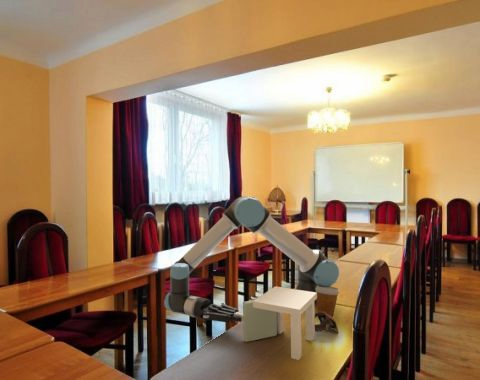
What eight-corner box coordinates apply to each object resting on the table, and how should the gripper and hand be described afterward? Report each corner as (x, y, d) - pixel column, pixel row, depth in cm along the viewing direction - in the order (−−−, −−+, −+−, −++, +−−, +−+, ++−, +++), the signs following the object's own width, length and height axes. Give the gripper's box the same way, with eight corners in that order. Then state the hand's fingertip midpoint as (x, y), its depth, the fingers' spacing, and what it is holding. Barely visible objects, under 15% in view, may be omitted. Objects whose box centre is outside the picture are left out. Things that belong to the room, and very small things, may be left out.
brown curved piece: (343, 339, 114) (333, 321, 113) (318, 349, 116) (308, 331, 114) (335, 317, 126) (326, 300, 124) (312, 326, 128) (303, 310, 126)
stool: (275, 328, 122) (275, 286, 122) (317, 337, 114) (316, 292, 114) (253, 349, 107) (253, 301, 107) (300, 362, 99) (299, 309, 99)
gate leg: (276, 332, 118) (275, 296, 118) (279, 334, 116) (278, 298, 116) (243, 339, 113) (243, 301, 113) (245, 342, 111) (245, 303, 111)
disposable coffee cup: (319, 313, 139) (321, 284, 140) (340, 318, 133) (342, 288, 134) (308, 316, 131) (311, 285, 133) (331, 322, 125) (333, 290, 127)
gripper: (208, 311, 133) (259, 323, 121) (187, 323, 122) (241, 337, 109) (208, 293, 133) (259, 303, 121) (187, 303, 122) (241, 315, 109)
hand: (250, 320), depth 115 cm, fingers closed
